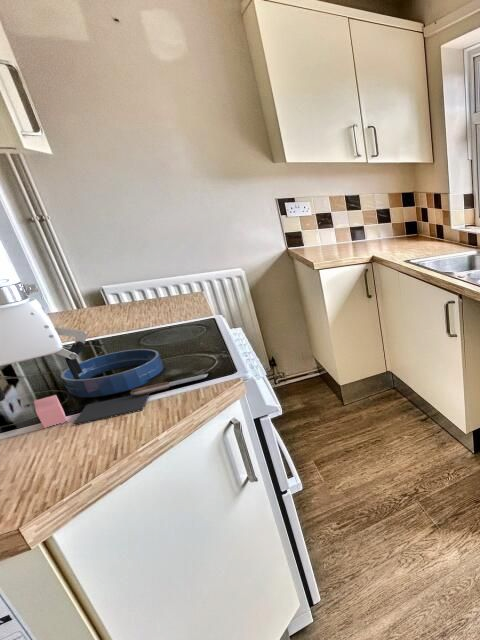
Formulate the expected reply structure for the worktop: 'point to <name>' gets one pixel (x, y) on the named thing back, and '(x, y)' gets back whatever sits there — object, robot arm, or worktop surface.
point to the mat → (111, 408)
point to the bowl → (116, 382)
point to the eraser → (49, 411)
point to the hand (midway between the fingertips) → (41, 387)
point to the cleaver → (163, 385)
